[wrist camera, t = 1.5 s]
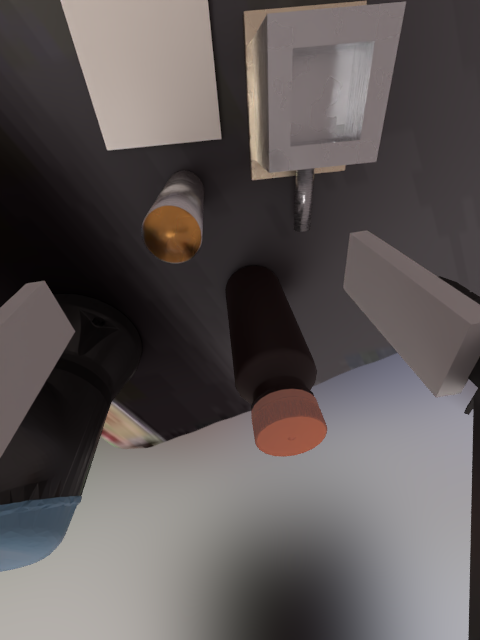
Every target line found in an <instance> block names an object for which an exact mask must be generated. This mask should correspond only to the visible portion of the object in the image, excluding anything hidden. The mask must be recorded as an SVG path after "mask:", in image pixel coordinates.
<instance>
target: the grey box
mask: <svg viewBox="0 0 480 640" xmlns="http://www.w3.org/2000/svg"><path fill="white" fill-rule="evenodd" d="M366 4H367V1H357V2H346V3H334V4H322V5H311V6H299V7H288V8H276V9H265V10H253V11H244V13H243V33H244V53H245V73H246V93H247V113H248V133H249V153H250V173H251V179H252V180H259V179H268V178H278V177H287V176H296V181H295V208H294V230H295V231H299V232H304V231H308V230H310V224H311V210H312V196H313V182H314V174H316V173H325V172H335V171H344V170H345V165H350V164H360V163H369V162H376V160H377V155H378V150H379V144H380V139H381V134H382V128H383V123H384V118H385V112H386V107H387V102H388V96H389V91H390V86H391V80H392V75H393V69H394V64H395V59H396V53H397V48H398V43H399V37H400V32H401V27H402V21H403V16H404V11H405V5H406V2H395V3H384V4H372V5H366Z"/></svg>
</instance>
